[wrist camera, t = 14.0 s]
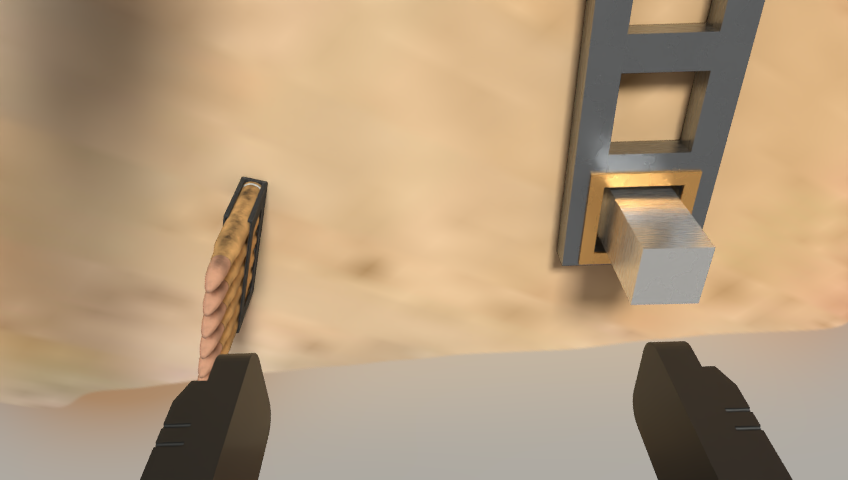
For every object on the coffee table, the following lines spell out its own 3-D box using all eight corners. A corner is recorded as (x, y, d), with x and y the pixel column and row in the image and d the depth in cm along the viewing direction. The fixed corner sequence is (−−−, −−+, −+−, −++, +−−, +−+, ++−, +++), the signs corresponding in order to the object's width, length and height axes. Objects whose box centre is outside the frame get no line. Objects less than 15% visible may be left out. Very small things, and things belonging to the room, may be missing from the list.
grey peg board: (597, -97, 34) (608, -93, 33) (773, -102, 34) (794, -99, 33) (556, 250, 48) (562, 267, 46) (683, 246, 48) (694, 263, 46)
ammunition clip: (253, 293, 50) (213, 408, 40) (230, 289, 49) (184, 403, 39) (267, 181, 44) (225, 282, 34) (242, 175, 44) (191, 276, 34)
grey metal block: (604, 179, 44) (643, 248, 37) (664, 177, 44) (715, 247, 37) (595, 229, 47) (630, 304, 39) (652, 228, 47) (698, 303, 39)
